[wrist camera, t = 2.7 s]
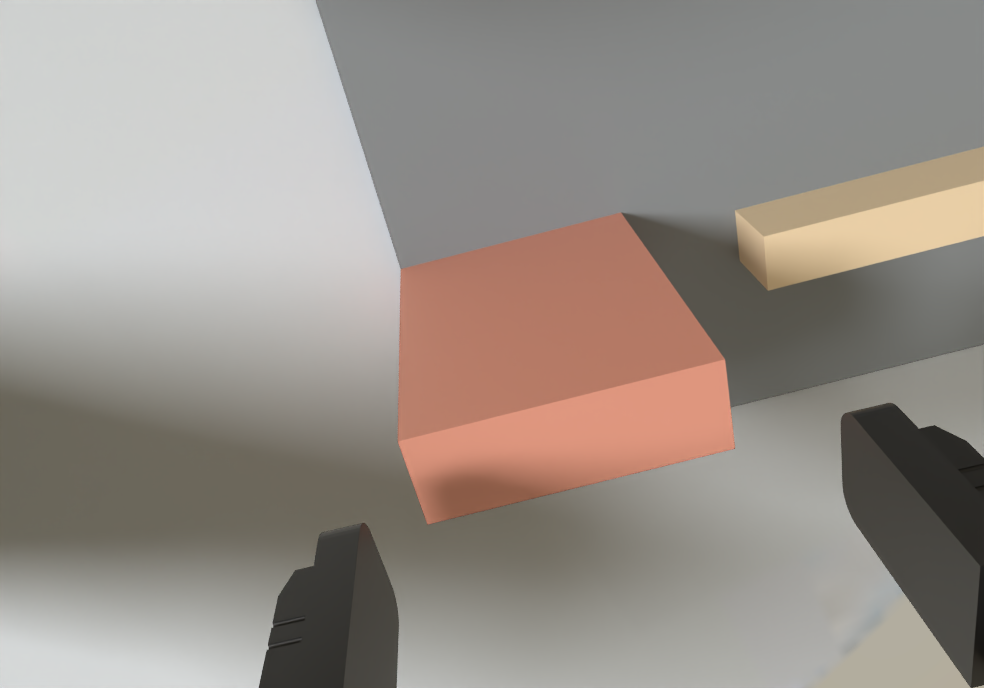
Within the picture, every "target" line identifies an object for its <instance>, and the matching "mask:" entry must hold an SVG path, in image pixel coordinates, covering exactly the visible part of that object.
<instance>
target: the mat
mask: <svg viewBox="0 0 984 688" xmlns="http://www.w3.org/2000/svg"><path fill="white" fill-rule="evenodd" d="M316 3H317V6H318V9H319V12H320V16H321V19H322V22H323V25H324V28H325V31H326V34H327V38H328V41H329V44H330V47H331V50H332V53H333V57H334V60H335V63H336V66H337V69H338V72H339V76H340V79H341V82H342V85H343V88H344V91H345V94H346V98H347V101H348V104H349V107H350V110H351V113H352V117H353V120H354V123H355V126H356V129H357V132H358V136H359V139H360V142H361V145H362V148H363V151H364V154H365V158H366V161H367V164H368V167H369V170H370V173H371V177H372V180H373V183H374V186H375V189H376V192H377V196H378V199H379V202H380V205H381V208H382V211H383V214H384V218H385V221H386V224H387V227H388V230H389V233H390V237H391V240H392V243H393V246H394V249H395V252H396V256H397V259H398V262H399V265H400V268H401V269H403V268H407V267H411V266H415V265H419V264H422V263H426V262H430V261H434V260H438V259H442V258H446V257H450V256H454V255H457V254H461V253H465V252H469V251H473V250H477V249H481V248H485V247H489V246H492V245H496V244H500V243H504V242H508V241H512V240H516V239H520V238H524V237H527V236H531V235H535V234H539V233H543V232H547V231H551V230H555V229H559V228H562V227H566V226H570V225H574V224H578V223H582V222H586V221H590V220H594V219H597V218H601V217H605V216H609V215H613V214H617V213H622V215H623V216H624V217H625V219H626V220H627V222H628V223H629V225H630V226H631V227H632V229H633V230H634V232H635V233H636V234H637V236H638V237H639V239H640V240H641V241H642V243H643V244H644V246H645V247H646V249H647V250H648V251H649V253H650V254H651V256H652V257H653V258H654V260H655V261H656V263H657V264H658V265H659V267H660V268H661V270H662V271H663V273H664V274H665V275H666V277H667V278H668V280H669V281H670V282H671V284H672V285H673V287H674V288H675V289H676V291H677V292H678V294H679V295H680V297H681V298H682V299H683V301H684V302H685V304H686V305H687V306H688V308H689V309H690V311H691V312H692V313H693V315H694V316H695V318H696V319H697V320H698V322H699V323H700V325H701V326H702V328H703V329H704V330H705V332H706V333H707V335H708V336H709V337H710V339H711V340H712V342H713V343H714V344H715V346H716V347H717V349H718V350H719V352H720V353H721V354H722V356H723V357H724V359H725V363H726V372H727V381H728V390H729V399H730V407H734V406H738V405H742V404H746V403H750V402H754V401H758V400H762V399H766V398H770V397H774V396H778V395H782V394H786V393H790V392H794V391H798V390H802V389H807V388H811V387H815V386H819V385H823V384H827V383H831V382H835V381H839V380H843V379H847V378H851V377H855V376H859V375H863V374H867V373H871V372H875V371H879V370H883V369H887V368H891V367H895V366H899V365H903V364H907V363H911V362H915V361H919V360H923V359H927V358H931V357H935V356H939V355H943V354H947V353H951V352H955V351H959V350H963V349H967V348H971V347H975V346H979V345H983V344H984V0H316Z"/></svg>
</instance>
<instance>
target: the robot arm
mask: <svg viewBox="0 0 984 688" xmlns="http://www.w3.org/2000/svg"><path fill="white" fill-rule="evenodd" d="M841 448H842V482H843V492H844V497H845V501H846V504H847V507H848V510H849V512H850V514H851V517H852V519H853V520H854V522H855V524H856V525H857V527H858V528H859V530H860V531H861V533H862V534H863V535H864V537H865V538H866V540H867V541H868V542H869V544H870V545H871V547H872V548H873V550H874V551H875V552H876V554H877V555H878V557H879V558H880V560H881V561H882V562H883V564H884V565H885V567H886V568H887V569H888V571H889V572H890V574H891V575H892V577H893V578H894V579H895V581H896V582H897V584H898V585H899V587H900V588H901V589H902V591H903V592H904V594H905V595H906V596H907V598H908V599H909V601H910V602H911V604H912V605H913V606H914V608H915V609H916V611H917V612H918V613H919V615H920V616H921V618H922V619H923V621H924V622H925V623H926V625H927V626H928V628H929V629H930V631H931V632H932V633H933V635H934V636H935V637H936V639H937V641H938V642H939V643H940V645H941V646H942V648H943V649H944V651H945V652H946V653H947V655H948V656H949V657H950V659H951V660H952V662H953V663H954V665H955V666H956V668H957V669H958V670H959V672H960V673H961V674H962V676H963V678H964V679H965V680H966V682H967V683H968V685H969V686H970V687H971V688H973V687H978V686H982V685H984V458H983V457H982V456H981V455H980V454H979V453H978V452H977V451H976V450H975V449H974V448H973V447H972V446H971V445H970V444H969V443H968V442H967V441H965V440H963V439H961V438H959V437H957V436H955V435H953V434H951V433H949V432H947V431H945V430H943V429H941V428H939V427H937V426H935V425H934V426H929V427H925V428H921V429H918V427H917V426H916V425H915V424H914V423H913V422H912V421H911V420H910V419H909V418H908V417H907V416H906V415H905V414H904V413H903V412H902V411H901V410H900V409H899V408H898V407H897V406H896V405H895V404H893V403H887V404H883V405H878V406H874V407H870V408H865V409H861V410H857V411H852V412H848V413H845V414H843V416H842V419H841ZM398 632H399V620H398V610H397V604H396V599H395V595H394V591H393V588H392V585H391V583H390V580H389V578H388V575H387V573H386V570H385V568H384V565H383V563H382V560H381V557H380V555H379V552H378V550H377V547H376V545H375V542H374V540H373V537H372V535H371V532H370V530H369V528H368V526H367V525H366V524H365V523H361V524H357V525H353V526H348V527H344V528H340V529H335V530H331V531H327V532H323V533H321V534H320V536H319V539H318V544H317V550H316V556H315V562H314V566H312V567H308V568H303V569H299V570H295V572H294V573H293V575H292V576H291V578H290V579H289V581H288V582H287V584H286V585H285V587H284V588H283V590H282V591H281V593H280V595H279V596H278V600H277V605H276V610H275V614H274V619H273V628H271V633H270V638H269V642H268V646H269V650H267V652H266V656H265V661H264V666H263V670H262V675H261V680H260V684H259V688H396V687H397V659H398Z"/></svg>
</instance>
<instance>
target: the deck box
mask: <svg viewBox="0 0 984 688" xmlns="http://www.w3.org/2000/svg"><path fill="white" fill-rule="evenodd" d="M398 444H399V447H400V449H401V452H402V455H403V458H404V460H405V463H406V466H407V469H408V472H409V474H410V477H411V480H412V483H413V486H414V488H415V491H416V494H417V497H418V499H419V502H420V505H421V508H422V511H423V513H424V516H425V519H426V522H427V525H428V524H432V523H436V522H440V521H444V520H448V519H452V518H456V517H460V516H464V515H469V514H473V513H477V512H481V511H485V510H489V509H493V508H497V507H501V506H505V505H509V504H513V503H517V502H521V501H525V500H529V499H533V498H537V497H541V496H545V495H549V494H553V493H558V492H562V491H566V490H570V489H574V488H578V487H582V486H586V485H590V484H594V483H598V482H602V481H606V480H610V479H614V478H618V477H622V476H626V475H630V474H634V473H638V472H642V471H647V470H651V469H655V468H659V467H663V466H667V465H671V464H675V463H679V462H683V461H687V460H691V459H695V458H699V457H703V456H707V455H711V454H715V453H719V452H723V451H727V450H731V449H735V443H734V434H733V425H732V417H731V408H730V399H729V390H728V381H727V372H726V363H725V359H724V357H723V356H722V354H721V353H720V352H719V350H718V349H717V347H716V346H715V344H714V343H713V342H712V340H711V339H710V337H709V336H708V335H707V333H706V332H705V330H704V329H703V328H702V326H701V325H700V323H699V322H698V320H697V319H696V318H695V316H694V315H693V313H692V312H691V311H690V309H689V308H688V306H687V305H686V304H685V302H684V301H683V299H682V298H681V297H680V295H679V294H678V292H677V291H676V289H675V288H674V287H673V285H672V284H671V282H670V281H669V280H668V278H667V277H666V275H665V274H664V273H663V271H662V270H661V268H660V267H659V265H658V264H657V263H656V261H655V260H654V258H653V257H652V256H651V254H650V253H649V251H648V250H647V249H646V247H645V246H644V244H643V243H642V241H641V240H640V239H639V237H638V236H637V234H636V233H635V232H634V230H633V229H632V227H631V226H630V225H629V223H628V222H627V220H626V219H625V217H624V216H623V215H622V213H617V214H613V215H609V216H605V217H601V218H597V219H594V220H590V221H586V222H582V223H578V224H574V225H570V226H566V227H562V228H559V229H555V230H551V231H547V232H543V233H539V234H535V235H531V236H527V237H524V238H520V239H516V240H512V241H508V242H504V243H500V244H496V245H492V246H489V247H485V248H481V249H477V250H473V251H469V252H465V253H461V254H457V255H454V256H450V257H446V258H442V259H438V260H434V261H430V262H426V263H422V264H419V265H415V266H411V267H407V268H403V269H401V285H400V341H399V397H398Z"/></svg>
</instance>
